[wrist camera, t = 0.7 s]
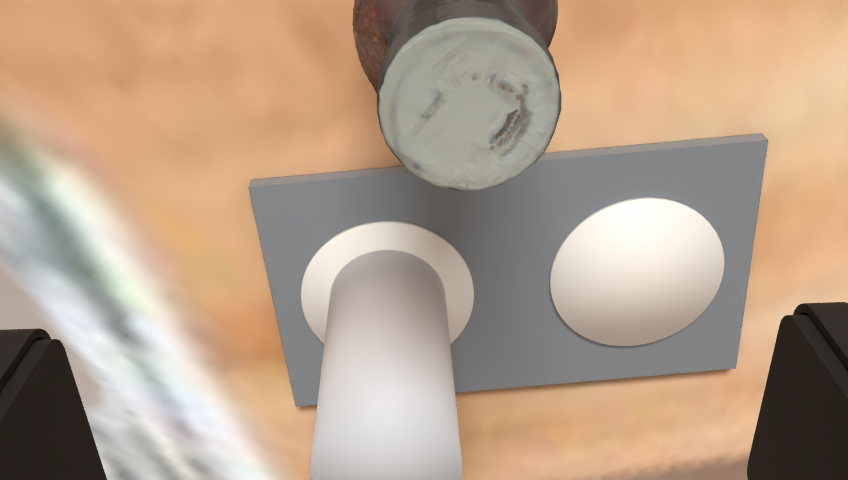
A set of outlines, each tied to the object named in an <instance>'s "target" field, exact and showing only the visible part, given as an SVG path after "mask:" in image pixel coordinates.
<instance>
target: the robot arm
mask: <svg viewBox="0 0 848 480" xmlns="http://www.w3.org/2000/svg"><path fill="white" fill-rule="evenodd" d="M747 477H748V480H848V303H846V302H834V303H804V304H800V305H798V307H797V308H796V309H795V311H794V314H793V315H787V316H784V317H783V319H782V320H781V323H780V326H779V330H778V335H777V339H776V343H775V348H774V352H773V356H772V361H771V365H770V369H769V374H768V378H767V382H766V387H765V391H764V396H763V400H762V404H761V409H760V413H759V417H758V422H757V426H756V430H755V435H754V439H753V443H752V448H751V452H750V456H749V461H748V467H747ZM0 480H107V478H106V475H105V472H104V469H103V466H102V463H101V460H100V457H99V453H98V450H97V447H96V444H95V441H94V438H93V435H92V432H91V429H90V426H89V422H88V419H87V416H86V413H85V410H84V407H83V404H82V401H81V398H80V395H79V392H78V388H77V386H76V382H75V379H74V376H73V373H72V370H71V367H70V364H69V361H68V357H67V354H66V351H65V348H64V346H63V344H62V343H61V342H60V340H57V339H51V338H50V336H49V334H48V333H47V332H46V331H45V330H42V329H17V330H16V329H14V330H0Z"/></svg>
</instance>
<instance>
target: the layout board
mask: <svg viewBox="0 0 848 480" xmlns="http://www.w3.org/2000/svg"><path fill="white" fill-rule="evenodd" d="M767 145H768V139H767V138H766V137H765V136H764V135H763V134H751V135H740V136H729V137H718V138H707V139H696V140H685V141H674V142H662V143H651V144H640V145H629V146H618V147H607V148H596V149H585V150H574V151H563V152H552V153H543V154H542V156H541V157H540V158H539V159H538V160H537V161H536V162H535V163H534V164H533V165H531V166H530V167H529V168H528V169H526V170H525V171H524V172H523V173H522V174H521V175H519V176H518V177H516V178H514V179H511V180H509V181H507V182H505V183H503V184H501V185H499V186H495V187H491V188H487V189H483V190H479V191H478V190H455V189H450V188H441V187H438V186H434V185H432V184H429V183H427V182H425V181H423V180H421V179H420V178H418V177H416V176H415V175H413V174H412V173H410V172H409V171H408V170H407V169H406V167H405V166H398V167H387V168H376V169H365V170H354V171H343V172H332V173H320V174H309V175H298V176H287V177H276V178H265V179H254V180H251V181H250V184H249V192H250V196H251V201H252V206H253V210H254V215H255V219H256V224H257V229H258V233H259V238H260V243H261V247H262V252H263V257H264V261H265V266H266V270H267V275H268V280H269V284H270V289H271V294H272V298H273V303H274V308H275V312H276V317H277V322H278V326H279V331H280V335H281V340H282V345H283V349H284V354H285V359H286V363H287V368H288V373H289V377H290V382H291V386H292V391H293V396H294V400H295V405H296V407H298V406H310V405H317V411H316V420H315V428H314V437H313V446H312V454H311V463H310V476H311V480H461V477H462V456H461V446H460V436H459V426H458V416H457V406H456V396H455V393H459V392H471V391H482V390H494V389H505V388H517V387H528V386H539V385H551V384H562V383H574V382H585V381H597V380H608V379H620V378H631V377H643V376H654V375H666V374H677V373H689V372H700V371H712V370H723V369H735V368H736V364H737V357H738V350H739V343H740V336H741V329H742V322H743V315H744V308H745V300H746V293H747V286H748V279H749V272H750V265H751V258H752V251H753V244H754V237H755V230H756V223H757V216H758V209H759V201H760V194H761V187H762V180H763V173H764V166H765V159H766V152H767Z"/></svg>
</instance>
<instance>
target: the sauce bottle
mask: <svg viewBox="0 0 848 480" xmlns="http://www.w3.org/2000/svg"><path fill="white" fill-rule="evenodd" d="M557 15H558V1H557V0H355V4H354V9H353V33H354V38H355V42H356V48H357V52H358V56H359V60H360V62H361V65H362V68H363V70H364V71H365V73H366V75H367V77H368V79H369V81H370V82H371V84H372V85H373V87H374V89H375V91H376V93H377V113H378V118H379V124H380V127H381V131H382V134H383V136H384V139H385V141H386V143H387V145H388V147H389V148H390V149H391V151H392V152H393V154H394V155H395V156H396V157H397V158H398V160H399V161H400V162H401V163H402V164H403V165H404V166H405V167H406V169H407V170H408V171H409V172H410V173H412V174H413V175H415V176H416V177H418V178H420V179H421V180H423V181H425V182H427V183H429V184H432V185H434V186H438V187H441V188H450V189H455V190H478V191H479V190H483V189H487V188H491V187H495V186H499V185H501V184H503V183H505V182H507V181H509V180H511V179H514V178H516V177H518V176H519V175H521V174H522V173H523V172H524V171H525V170H526V169H528V168H529V167H530V166H531V165H533V164H534V163H535V162H536V161H537V160H538V159H539V158H540V157H541V156H542V154H543V153H544V152H545V150H546V148H547V146H548V145H549V143H550V140H551V138H552V136H553V134H554V132H555V128H556V125H557V122H558V119H559V115H560V112H561V91H560V85H559V75H558V72H557V70H556V67H555V64H554V61H553V57H552V55H551V54H550V52H549V50H548V47H549V45H550V43H551V41H552V38H553V35H554V33H555V28H556V23H557Z"/></svg>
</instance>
